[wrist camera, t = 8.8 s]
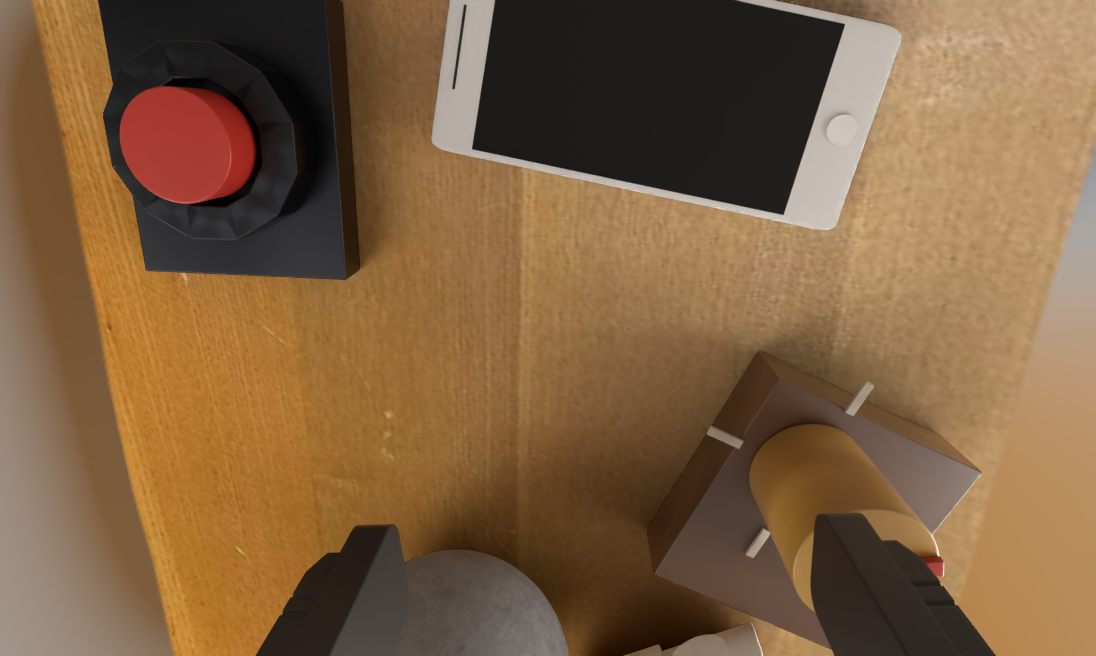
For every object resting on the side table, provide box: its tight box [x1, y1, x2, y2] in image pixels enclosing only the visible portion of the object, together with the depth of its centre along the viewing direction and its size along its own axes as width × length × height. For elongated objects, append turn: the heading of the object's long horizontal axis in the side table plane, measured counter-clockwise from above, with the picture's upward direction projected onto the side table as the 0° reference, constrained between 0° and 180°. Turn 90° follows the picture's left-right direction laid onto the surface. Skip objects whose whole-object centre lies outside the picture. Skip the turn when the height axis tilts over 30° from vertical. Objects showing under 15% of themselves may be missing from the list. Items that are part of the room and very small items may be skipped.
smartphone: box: [431, 0, 902, 230], centre depth 23 cm, size 7×15×1 cm, turn 79°
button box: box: [98, 0, 360, 280], centre depth 23 cm, size 10×8×4 cm
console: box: [647, 351, 982, 649], centre depth 27 cm, size 11×10×3 cm
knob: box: [749, 424, 944, 612], centre depth 22 cm, size 4×4×6 cm
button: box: [120, 86, 257, 204], centre depth 21 cm, size 4×4×2 cm
